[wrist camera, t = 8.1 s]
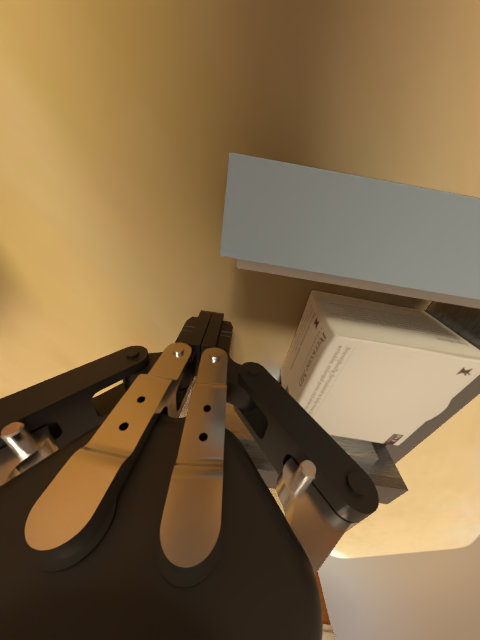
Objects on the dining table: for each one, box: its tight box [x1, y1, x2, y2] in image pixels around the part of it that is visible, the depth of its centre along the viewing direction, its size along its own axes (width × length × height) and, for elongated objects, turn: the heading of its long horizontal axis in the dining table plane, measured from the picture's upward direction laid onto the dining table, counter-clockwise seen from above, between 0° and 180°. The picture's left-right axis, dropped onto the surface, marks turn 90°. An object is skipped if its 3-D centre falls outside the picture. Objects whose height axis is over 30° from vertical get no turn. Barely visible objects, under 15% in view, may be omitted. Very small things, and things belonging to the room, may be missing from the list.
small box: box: [280, 290, 480, 445], centre depth 13 cm, size 8×8×5 cm
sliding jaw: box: [220, 152, 480, 309], centre depth 8 cm, size 3×12×6 cm, turn 81°
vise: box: [225, 301, 480, 504], centre depth 11 cm, size 19×15×7 cm
